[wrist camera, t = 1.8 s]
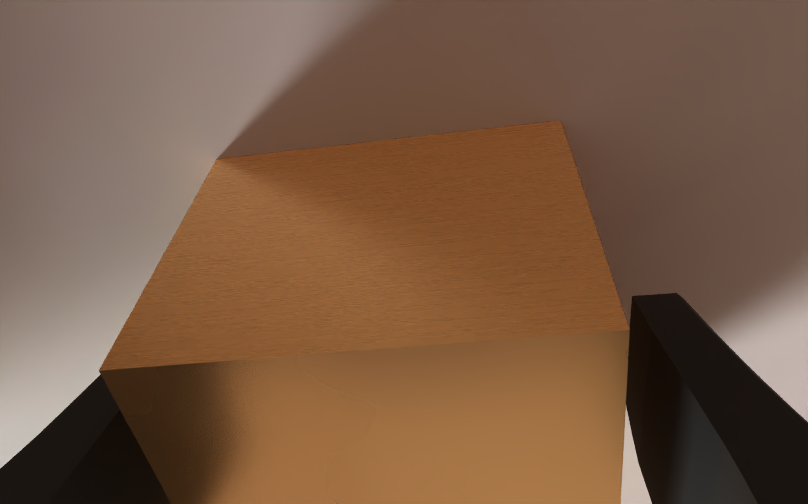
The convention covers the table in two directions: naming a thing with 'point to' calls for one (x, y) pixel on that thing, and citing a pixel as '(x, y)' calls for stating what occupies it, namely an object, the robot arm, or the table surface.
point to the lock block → (383, 330)
